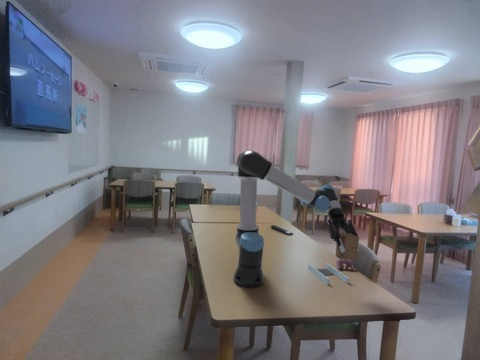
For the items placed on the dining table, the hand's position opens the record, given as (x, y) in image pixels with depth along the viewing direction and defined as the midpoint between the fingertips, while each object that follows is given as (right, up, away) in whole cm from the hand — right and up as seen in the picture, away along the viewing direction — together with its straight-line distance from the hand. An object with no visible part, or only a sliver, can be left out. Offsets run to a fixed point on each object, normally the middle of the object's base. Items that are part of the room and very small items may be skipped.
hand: (350, 251), depth 147 cm
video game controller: (+8, -18, +33) cm, 38 cm away
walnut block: (-1, -3, +3) cm, 5 cm away
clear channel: (-5, -18, +20) cm, 27 cm away
